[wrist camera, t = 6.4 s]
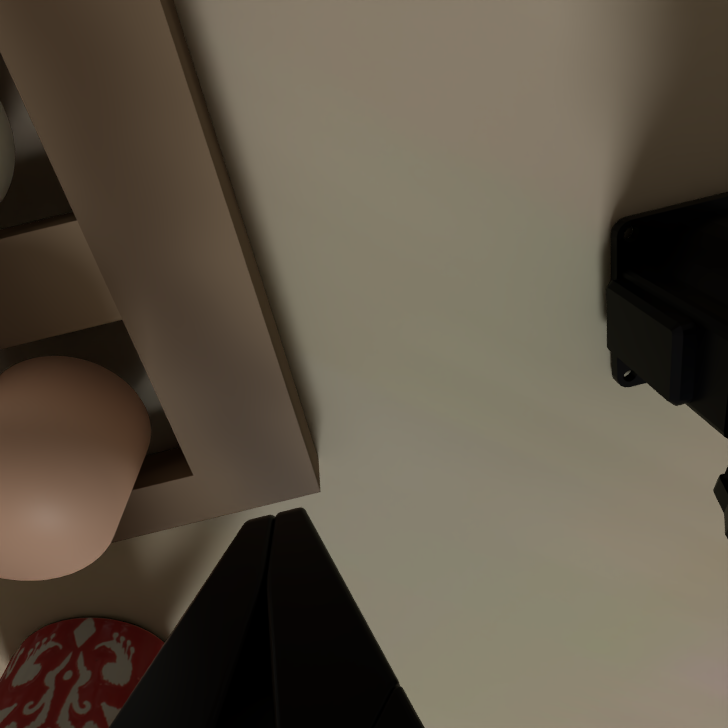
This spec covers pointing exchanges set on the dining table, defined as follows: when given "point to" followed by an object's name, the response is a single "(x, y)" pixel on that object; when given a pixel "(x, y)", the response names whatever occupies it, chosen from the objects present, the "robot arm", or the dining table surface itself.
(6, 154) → the button cream
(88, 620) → the mug
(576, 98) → the dining table surface
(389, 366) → the dining table surface
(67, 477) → the button terracotta
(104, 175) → the button board
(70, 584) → the dining table surface
